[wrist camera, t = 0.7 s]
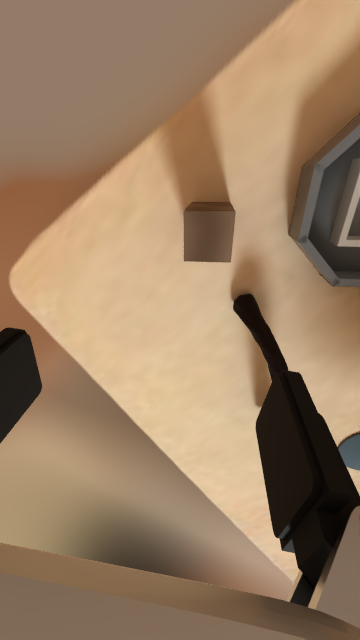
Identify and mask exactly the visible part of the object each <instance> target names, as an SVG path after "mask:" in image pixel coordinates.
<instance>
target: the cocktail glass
mask: <svg viewBox="0 0 360 640" xmlns="http://www.w3.org/2000/svg"><path fill="white" fill-rule="evenodd" d="M338 450H339V452H340V454H341V457H342V459H343V461H344V463H345V465H346V466H347V467H349V468H352V469H355V470H360V433H358V434H355V435H353V436H351V437H349V438H347V439H346V440H344V441H343V442H342V443H341V444H340V446H339V447H338Z"/></svg>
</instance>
